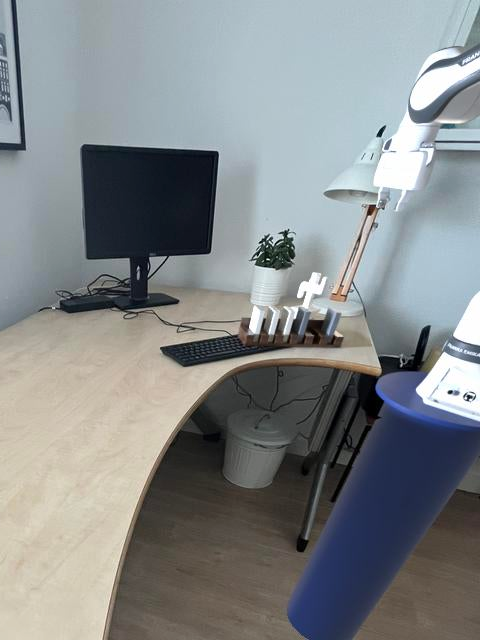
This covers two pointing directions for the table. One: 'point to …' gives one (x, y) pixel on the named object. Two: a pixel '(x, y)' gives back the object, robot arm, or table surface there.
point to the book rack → (290, 336)
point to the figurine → (311, 293)
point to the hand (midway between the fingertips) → (388, 209)
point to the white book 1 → (256, 321)
